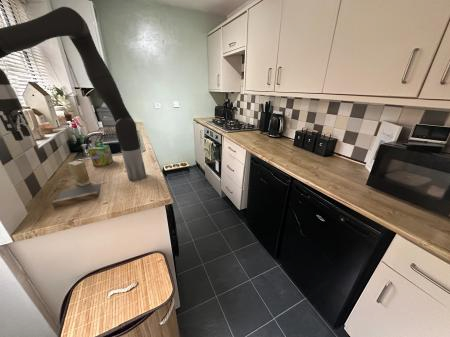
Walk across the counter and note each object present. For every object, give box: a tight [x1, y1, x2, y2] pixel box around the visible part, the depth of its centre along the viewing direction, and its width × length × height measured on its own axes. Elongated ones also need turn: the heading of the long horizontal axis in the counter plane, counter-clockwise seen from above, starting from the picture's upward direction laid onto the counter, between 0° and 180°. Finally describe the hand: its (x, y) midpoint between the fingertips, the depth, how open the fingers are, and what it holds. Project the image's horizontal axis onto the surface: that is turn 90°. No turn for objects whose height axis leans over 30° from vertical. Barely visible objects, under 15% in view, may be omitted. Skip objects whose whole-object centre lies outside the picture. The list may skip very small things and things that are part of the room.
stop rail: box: [51, 191, 99, 208], centre depth 81 cm, size 16×2×2 cm, turn 119°
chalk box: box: [88, 141, 114, 167], centre depth 119 cm, size 9×9×15 cm
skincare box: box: [67, 160, 92, 187], centre depth 94 cm, size 6×4×12 cm
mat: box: [56, 183, 101, 200], centre depth 87 cm, size 16×12×1 cm
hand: (23, 138), depth 77 cm, fingers open, 8 cm apart
